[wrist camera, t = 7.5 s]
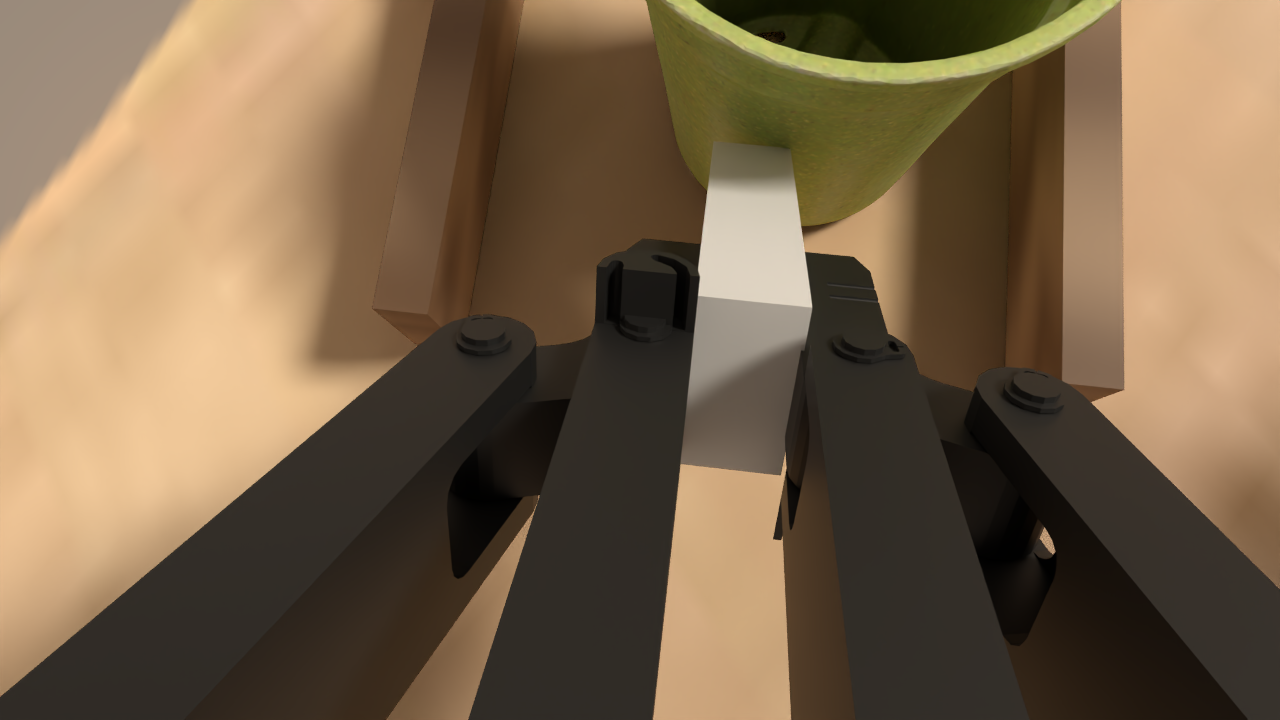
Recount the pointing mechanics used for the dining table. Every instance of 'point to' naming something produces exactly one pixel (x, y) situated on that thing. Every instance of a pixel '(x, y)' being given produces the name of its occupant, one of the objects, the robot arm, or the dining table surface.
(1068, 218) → the walnut bay
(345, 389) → the dining table surface
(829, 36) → the plant pot
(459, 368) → the robot arm
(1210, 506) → the dining table surface
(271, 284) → the dining table surface
